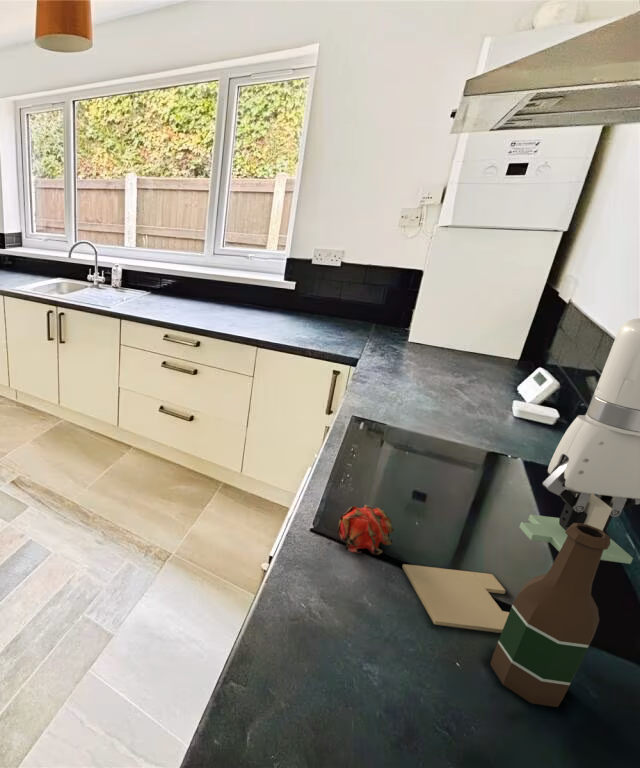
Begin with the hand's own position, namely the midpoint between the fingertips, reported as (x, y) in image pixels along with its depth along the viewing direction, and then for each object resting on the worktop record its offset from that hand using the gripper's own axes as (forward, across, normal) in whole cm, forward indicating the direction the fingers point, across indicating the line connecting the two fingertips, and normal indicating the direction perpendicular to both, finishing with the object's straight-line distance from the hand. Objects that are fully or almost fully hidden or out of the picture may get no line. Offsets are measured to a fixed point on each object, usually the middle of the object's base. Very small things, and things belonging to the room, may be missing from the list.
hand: (579, 531), depth 65 cm
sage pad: (+2, +1, 0) cm, 2 cm away
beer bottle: (+15, +10, +14) cm, 23 cm away
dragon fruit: (+15, +24, -9) cm, 30 cm away
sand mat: (+15, +12, +1) cm, 19 cm away
